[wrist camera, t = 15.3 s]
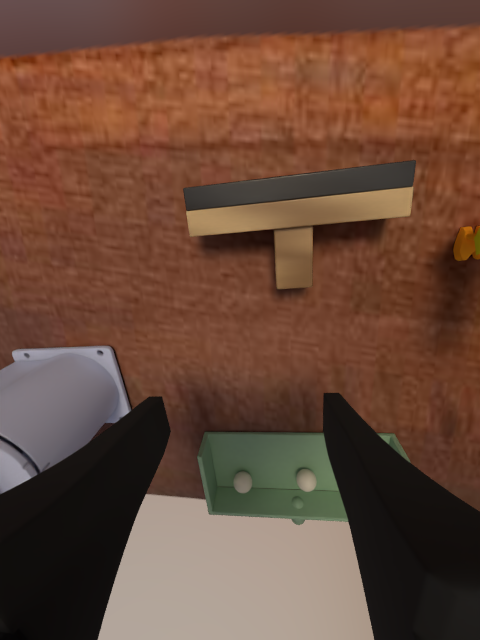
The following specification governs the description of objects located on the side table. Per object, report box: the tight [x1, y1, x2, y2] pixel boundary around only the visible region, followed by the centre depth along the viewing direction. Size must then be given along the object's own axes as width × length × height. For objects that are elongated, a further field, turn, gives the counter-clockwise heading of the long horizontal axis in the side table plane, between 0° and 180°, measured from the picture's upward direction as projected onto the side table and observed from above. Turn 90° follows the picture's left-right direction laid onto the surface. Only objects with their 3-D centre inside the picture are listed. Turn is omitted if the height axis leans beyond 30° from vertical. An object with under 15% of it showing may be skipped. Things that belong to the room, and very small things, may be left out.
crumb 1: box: [233, 471, 252, 493], centre depth 25 cm, size 2×2×2 cm
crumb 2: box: [296, 469, 317, 492], centre depth 24 cm, size 2×2×2 cm
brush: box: [183, 160, 416, 289], centre depth 16 cm, size 12×3×6 cm
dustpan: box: [197, 432, 410, 525], centre depth 24 cm, size 10×17×3 cm, turn 95°
